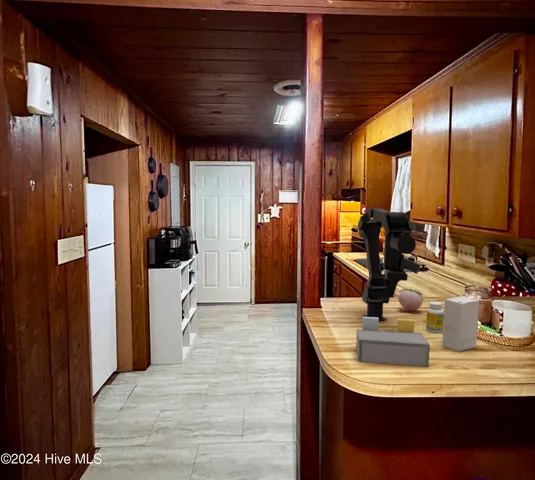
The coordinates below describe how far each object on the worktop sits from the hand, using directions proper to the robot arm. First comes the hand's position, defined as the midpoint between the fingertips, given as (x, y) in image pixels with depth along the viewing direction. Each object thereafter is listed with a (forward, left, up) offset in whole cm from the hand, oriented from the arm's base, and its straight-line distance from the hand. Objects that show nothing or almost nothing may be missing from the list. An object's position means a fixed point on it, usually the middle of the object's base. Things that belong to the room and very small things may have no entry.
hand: (391, 296), depth 128 cm
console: (+20, -11, -12) cm, 26 cm away
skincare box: (+16, +14, -12) cm, 25 cm away
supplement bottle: (+1, +16, -12) cm, 20 cm away
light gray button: (+16, -15, -11) cm, 24 cm away
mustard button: (+19, -5, -11) cm, 23 cm away
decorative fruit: (-22, +21, -12) cm, 33 cm away
